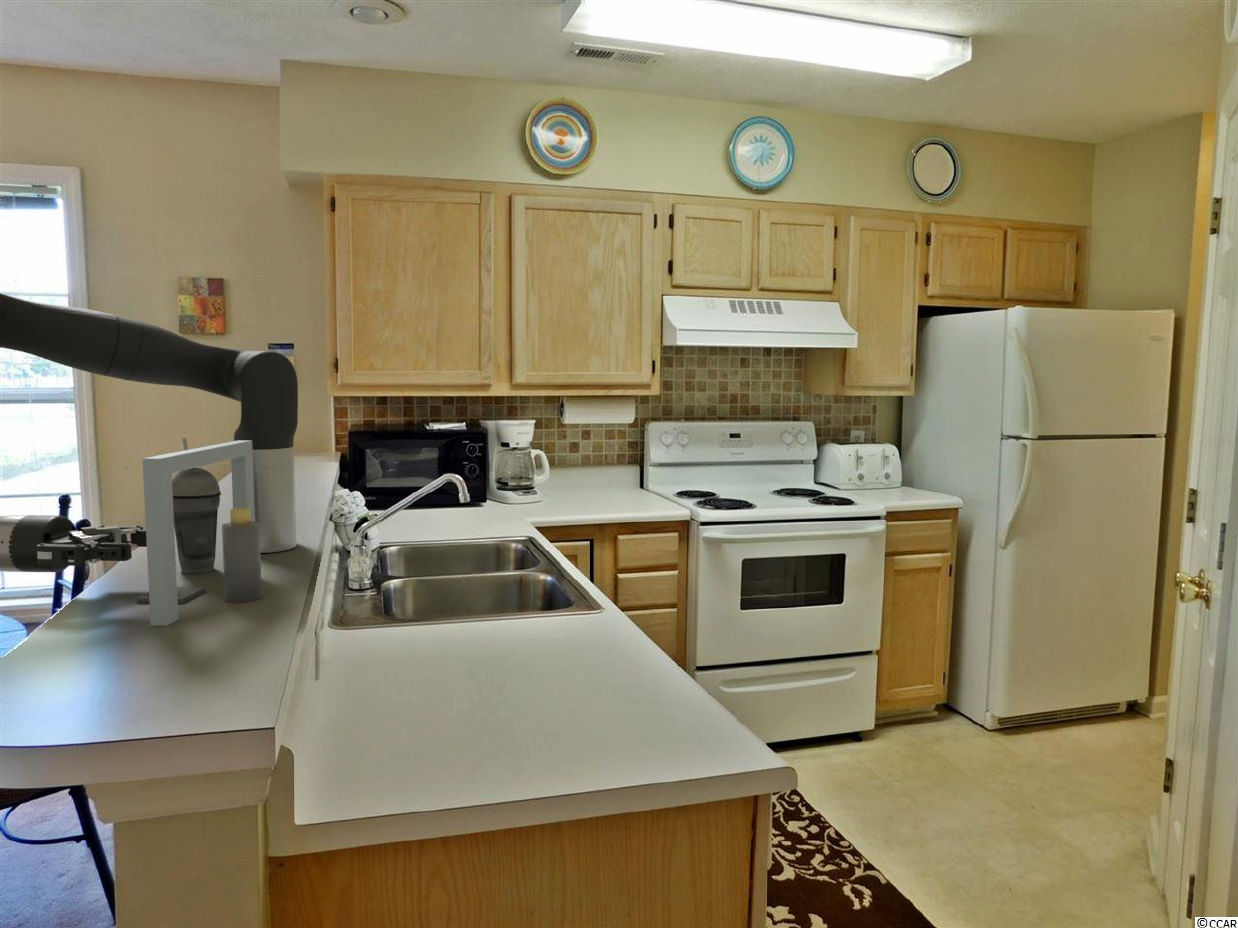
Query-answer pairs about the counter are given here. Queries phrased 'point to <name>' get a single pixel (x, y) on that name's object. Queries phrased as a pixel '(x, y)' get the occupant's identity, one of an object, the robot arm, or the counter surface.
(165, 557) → the rectangular arch frame
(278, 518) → the robot arm
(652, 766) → the counter surface
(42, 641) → the counter surface
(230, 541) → the bottle
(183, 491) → the beverage cup
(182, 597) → the mat
